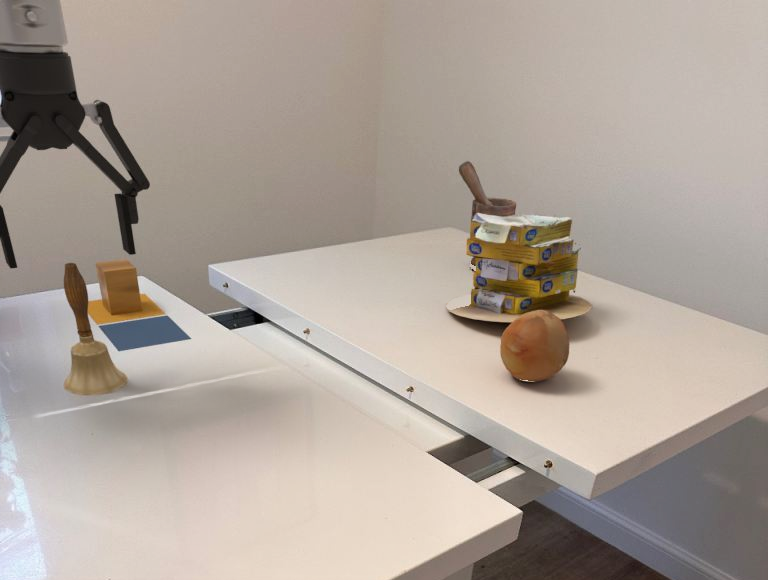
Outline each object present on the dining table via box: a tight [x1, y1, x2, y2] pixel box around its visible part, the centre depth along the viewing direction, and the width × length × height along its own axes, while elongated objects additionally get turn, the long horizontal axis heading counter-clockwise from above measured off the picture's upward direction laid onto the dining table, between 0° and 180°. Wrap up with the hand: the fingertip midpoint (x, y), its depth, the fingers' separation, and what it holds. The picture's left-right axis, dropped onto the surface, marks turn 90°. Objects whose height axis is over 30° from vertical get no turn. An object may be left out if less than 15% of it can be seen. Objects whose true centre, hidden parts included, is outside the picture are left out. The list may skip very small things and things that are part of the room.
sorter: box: [88, 293, 192, 352], centre depth 114 cm, size 23×11×1 cm, turn 33°
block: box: [95, 258, 142, 315], centre depth 116 cm, size 5×5×7 cm
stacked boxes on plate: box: [447, 211, 593, 323], centre depth 122 cm, size 25×25×17 cm
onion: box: [499, 310, 570, 382], centre depth 102 cm, size 10×10×10 cm
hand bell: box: [63, 262, 129, 396], centre depth 91 cm, size 8×8×16 cm
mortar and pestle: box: [458, 160, 517, 266], centre depth 142 cm, size 12×9×20 cm
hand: (72, 258), depth 86 cm, fingers open, 13 cm apart
